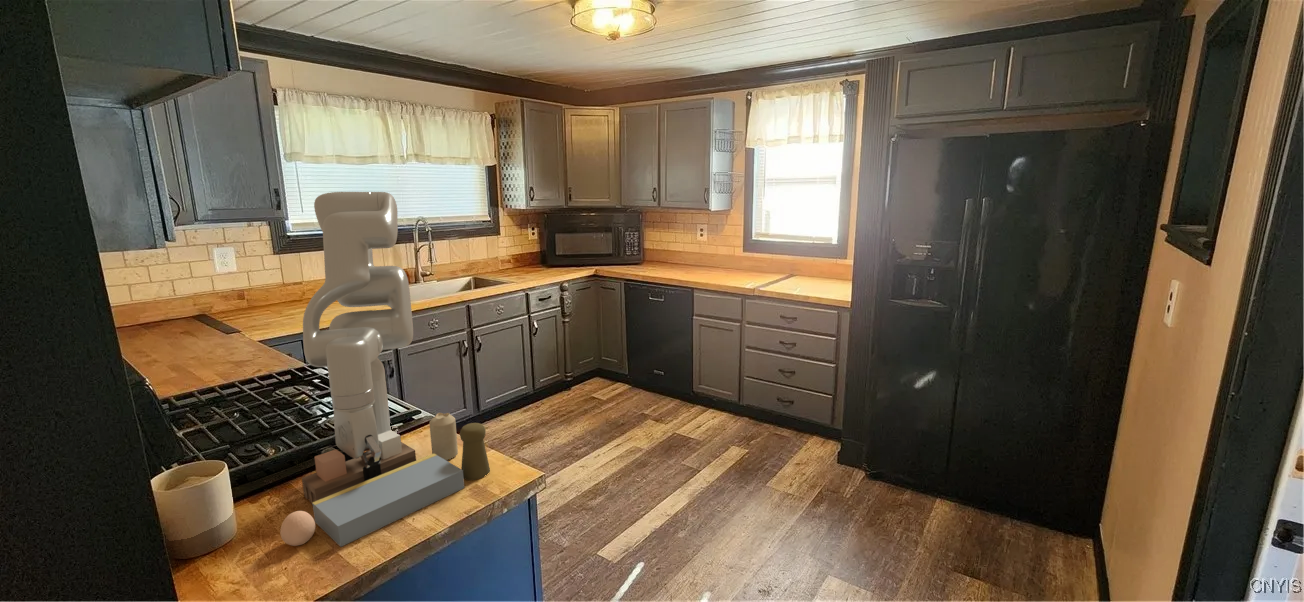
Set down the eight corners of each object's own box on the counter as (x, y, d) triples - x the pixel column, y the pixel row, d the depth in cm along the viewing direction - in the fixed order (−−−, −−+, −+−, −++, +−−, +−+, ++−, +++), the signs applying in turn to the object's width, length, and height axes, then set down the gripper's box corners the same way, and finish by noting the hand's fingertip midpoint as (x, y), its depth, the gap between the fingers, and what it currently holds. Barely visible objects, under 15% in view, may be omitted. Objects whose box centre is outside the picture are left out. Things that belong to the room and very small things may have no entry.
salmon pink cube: (316, 474, 110) (314, 456, 109) (338, 467, 113) (335, 449, 112) (325, 481, 107) (322, 463, 107) (346, 473, 111) (344, 455, 110)
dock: (315, 522, 102) (312, 502, 101) (435, 470, 120) (434, 453, 119) (340, 546, 95) (337, 526, 94) (464, 487, 113) (462, 470, 112)
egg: (310, 530, 100) (306, 500, 98) (321, 541, 96) (317, 511, 95) (278, 544, 96) (273, 513, 94) (289, 556, 93) (284, 525, 91)
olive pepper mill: (472, 483, 115) (468, 434, 113) (455, 473, 119) (451, 426, 116) (496, 471, 120) (493, 424, 117) (479, 462, 123) (475, 417, 121)
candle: (428, 455, 126) (424, 414, 124) (450, 447, 130) (447, 407, 128) (439, 463, 123) (435, 422, 121) (462, 455, 127) (459, 414, 124)
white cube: (374, 453, 119) (372, 436, 118) (393, 446, 122) (391, 430, 121) (383, 459, 116) (381, 442, 115) (402, 452, 119) (400, 435, 118)
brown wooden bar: (304, 498, 110) (301, 477, 109) (402, 459, 125) (400, 441, 124) (317, 510, 106) (314, 489, 105) (416, 468, 121) (415, 450, 120)
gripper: (315, 393, 114) (326, 468, 118) (352, 415, 103) (362, 497, 107) (353, 383, 120) (362, 455, 123) (392, 403, 109) (400, 481, 113)
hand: (362, 474), depth 115 cm, fingers open, 9 cm apart
